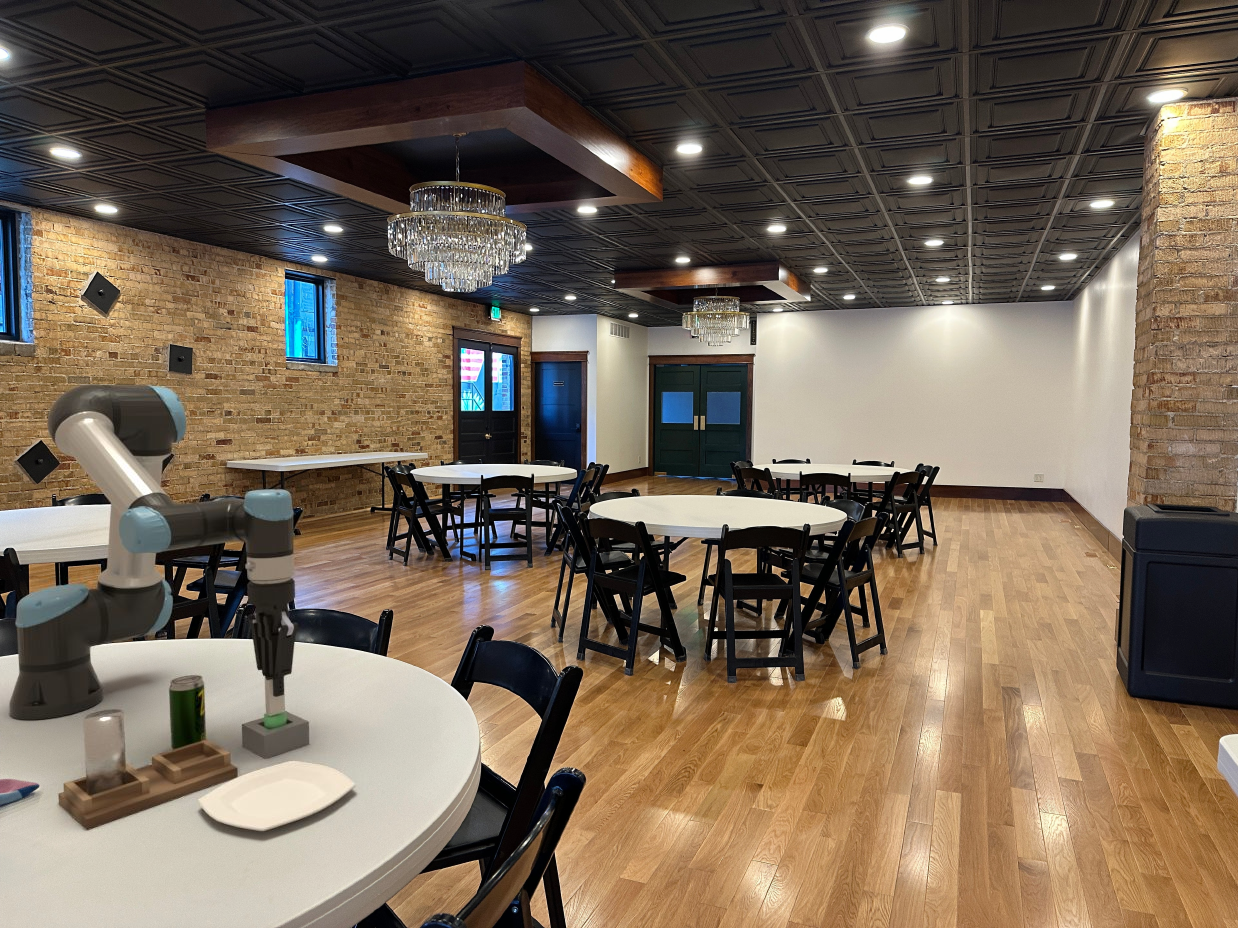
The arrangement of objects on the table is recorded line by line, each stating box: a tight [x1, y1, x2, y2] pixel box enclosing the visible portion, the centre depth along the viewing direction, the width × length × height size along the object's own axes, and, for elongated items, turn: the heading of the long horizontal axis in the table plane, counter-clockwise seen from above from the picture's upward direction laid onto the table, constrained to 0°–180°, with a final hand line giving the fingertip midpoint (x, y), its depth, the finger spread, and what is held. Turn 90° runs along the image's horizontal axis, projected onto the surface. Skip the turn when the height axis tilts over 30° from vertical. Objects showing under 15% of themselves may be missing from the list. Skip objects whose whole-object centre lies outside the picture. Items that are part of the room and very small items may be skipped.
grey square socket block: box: [241, 710, 310, 760], centre depth 140 cm, size 8×8×4 cm
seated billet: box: [82, 708, 127, 796], centre depth 118 cm, size 5×5×12 cm
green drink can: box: [168, 674, 207, 750], centre depth 139 cm, size 5×5×12 cm
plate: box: [197, 760, 357, 832], centre depth 119 cm, size 19×19×2 cm
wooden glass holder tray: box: [57, 738, 239, 831], centre depth 123 cm, size 12×21×4 cm, turn 141°
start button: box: [263, 712, 287, 730], centre depth 139 cm, size 4×4×3 cm
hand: (275, 712), depth 139 cm, fingers closed
